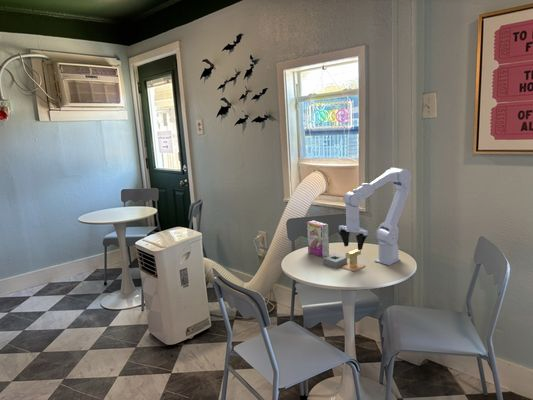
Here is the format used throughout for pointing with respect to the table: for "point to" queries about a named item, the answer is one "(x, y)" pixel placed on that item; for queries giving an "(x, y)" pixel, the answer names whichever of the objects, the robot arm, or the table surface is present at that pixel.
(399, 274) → the table surface
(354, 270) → the terracotta pad
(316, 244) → the candy bar box
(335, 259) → the slate socket block
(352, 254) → the brass rectangular peg
